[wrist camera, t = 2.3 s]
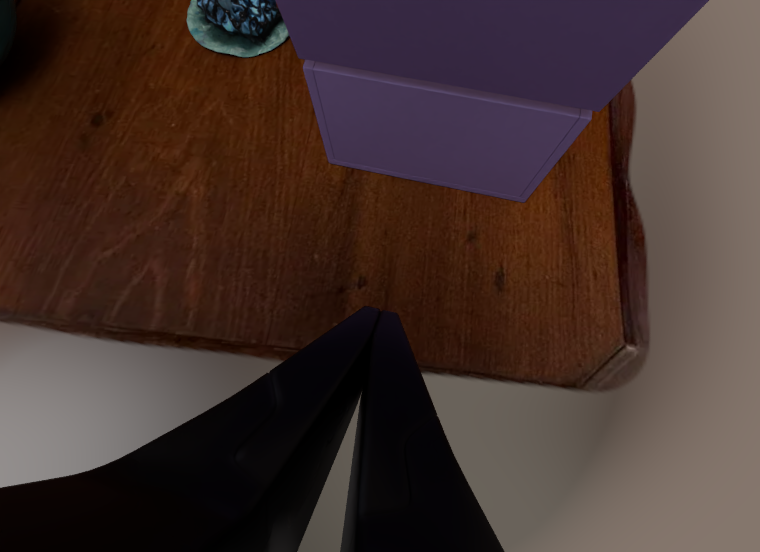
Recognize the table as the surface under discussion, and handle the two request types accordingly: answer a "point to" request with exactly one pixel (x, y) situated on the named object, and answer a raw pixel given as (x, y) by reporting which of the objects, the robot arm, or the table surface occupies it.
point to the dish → (237, 25)
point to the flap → (493, 42)
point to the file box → (439, 130)
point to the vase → (7, 27)
